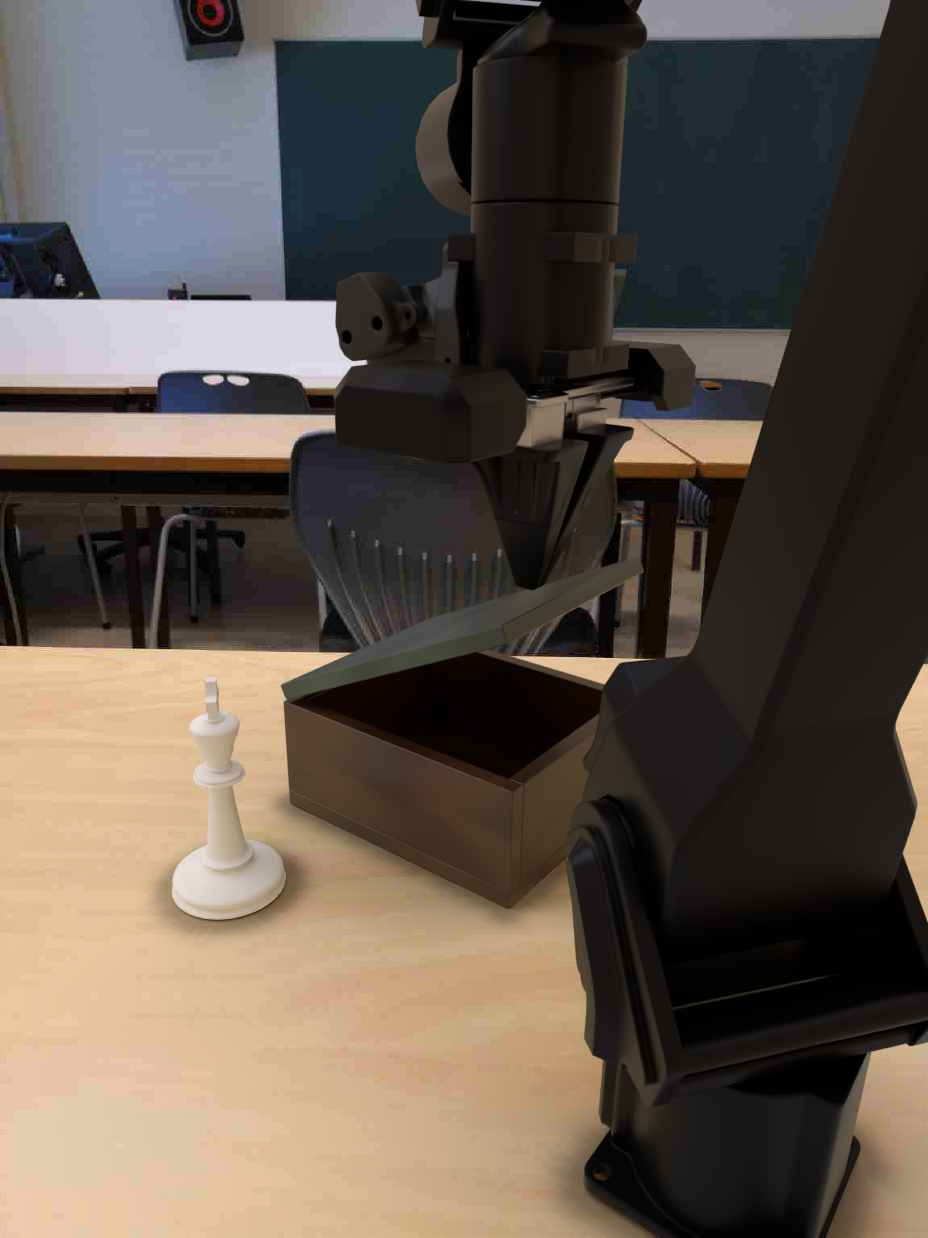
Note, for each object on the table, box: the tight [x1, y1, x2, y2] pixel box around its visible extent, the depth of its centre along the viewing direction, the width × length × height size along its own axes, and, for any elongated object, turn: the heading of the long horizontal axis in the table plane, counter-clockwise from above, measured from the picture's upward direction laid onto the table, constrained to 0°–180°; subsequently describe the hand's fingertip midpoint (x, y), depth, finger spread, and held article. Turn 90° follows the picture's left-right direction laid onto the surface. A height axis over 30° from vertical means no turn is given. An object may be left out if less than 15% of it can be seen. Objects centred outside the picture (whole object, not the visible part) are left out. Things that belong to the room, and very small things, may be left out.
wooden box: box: [283, 649, 605, 909], centre depth 47 cm, size 14×12×6 cm
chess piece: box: [171, 676, 287, 920], centre depth 40 cm, size 5×5×10 cm
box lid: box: [280, 556, 645, 700], centre depth 45 cm, size 14×12×1 cm
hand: (529, 586), depth 42 cm, fingers closed
